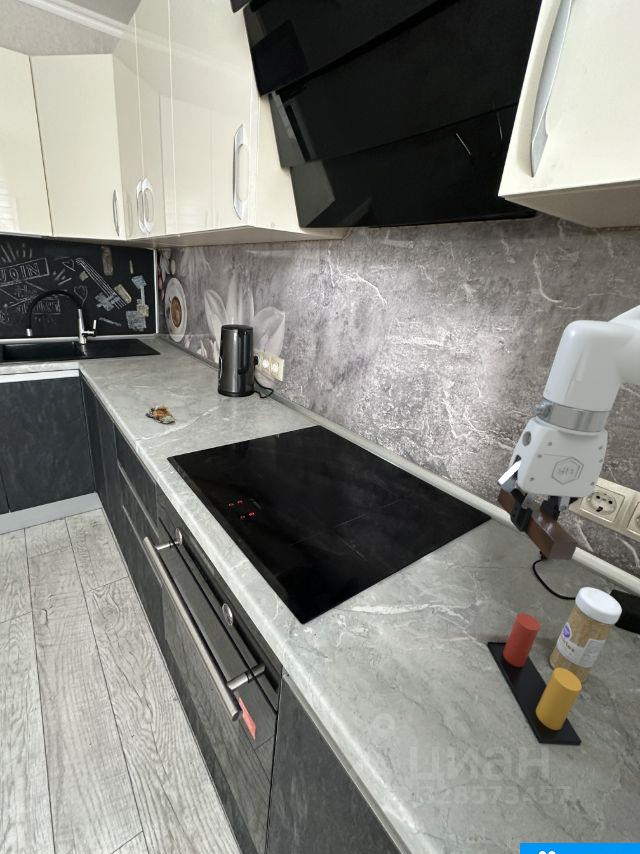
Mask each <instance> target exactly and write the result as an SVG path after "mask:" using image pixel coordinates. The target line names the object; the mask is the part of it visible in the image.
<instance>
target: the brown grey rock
mask: <svg viewBox="0 0 640 854" xmlns="http://www.w3.org/2000/svg"><path fill="white" fill-rule="evenodd" d="M168 410H169V407H168V406H165V405H161V406H159V405H156V406H154V407H152V406H149V412H145V416H146V417H147V418H149V416H151V417H154V420H155V421H156V422H157V423H161V424H169V423H171V422H176V420H175V419H174V418H173V415H172V413H171V412H170V411H168Z"/></svg>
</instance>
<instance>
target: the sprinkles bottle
mask: <svg viewBox="0 0 640 854" xmlns="http://www.w3.org/2000/svg"><path fill="white" fill-rule="evenodd" d="M574 600H575V601H574V602H575V603H574V606H573V608H572V610H571V612H570V615H569V617H568V619H567V621H566V623H565V625H564V627H563V628H562V630H561V633H560V634H559V636H558V638H557V641H556V643H555V647H554V649H553V651H552V652H551V653H550V654H549V659H548V660H549V664H550V666H551V667H552V669H553V671H554V670H555V669H556V668H564V669H566V670H568V671H570V672H572V673H573V674H574V675H575V676H576V677H577V678H578V679H579V680H580V682H581V684H583V683H584V682H585V681H586V680H587V677H588V674H589V672H590V670H591V668H592V667H593V666H594V664H595V662H596V660H597V658H598V657H599V654H600V652H601V650H602V648H603V647H604V645H605V643H606V641H607V639H608V636H609V633H610V632H611V630H612V628H613V626H614V625H615V624H617V622H618V621H619V619H620V617H621V614H622V611H623V609H622V607H621V605H620V603H619V602H618V601H617V600H616V599H615V598H614V597H613V596H612V595H610V594H609V593H607V592H606V591H603V590H601V589H599V588H595V587H590V586H589V587H588V586H586V587H582V588H580V589H579V592H577V595H576V597H575V599H574Z"/></svg>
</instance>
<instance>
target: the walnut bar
mask: <svg viewBox="0 0 640 854" xmlns="http://www.w3.org/2000/svg"><path fill="white" fill-rule="evenodd" d="M498 492H499V493H498V496H497V499H496V501H497V503H498V504H499V505H500V506H501V508H503V510H504V511H506V513H507V514H508V515H509V516H510V515H511V512H512V509H513V506H514V503H515V499H514V498H513V497H512V495H511V494H510V493H508V492H506V491H505V490H503V489H502V488H501V487H500V489H499V491H498ZM525 493H526V492H525ZM525 493H524V495H525ZM530 508H531V509H532V511H533V513H532V515H531V517H530V520H529V523H528V526H527V529H526V531H525V532H524V533H525V535H526V536H527V537H528V538H529V539H530V540H531V542H532V543H533V544H534V545H535V546H536V547H537V548H538V549H539V551H540V552H541V553H542V554H543V555H544V557H546V559H547V560H560V561H561V560H562V561H572V558H573V556H574V554H575V551H576V550H577V547H578V545H579V542H578V540H576V539H575V538H574V537H573V536H572V535H571V534H570V533H569V532H568V531H567V530H566V529H565V527H563V526H562V525H561V524H560V523H558V521H557V522H556V521H555V520H554V519H553V518H552V517H551V516H550V515H549V514H548V513H547V512H546V511H545V510H544V509H543V508H542V507H541V504H540V503H538V502H537V501H536V500H535V499H534V500H533V502H532V504H531V506H530Z"/></svg>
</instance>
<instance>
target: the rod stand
mask: <svg viewBox="0 0 640 854" xmlns="http://www.w3.org/2000/svg"><path fill="white" fill-rule="evenodd" d="M540 629H541V625H540V623H539V621H538V620H537V619H536V618H535V617H533V616H532V615H530V614H528V613H524V612H519V613H518V614H516V616H515V620H514V622H513V624H512V627H511V630H510V632H509V635H508V638H507V640H506V642H504V641H488V642H487V644H486V646H487V648H488V650H489V651H490V653H491V655H492V657H493V659H494V661H495V663H496V665H497V666H498V669H499V671H500V672H501V675H502V676H503V678H504V680H505V682H506V684H507V685H508V687H509V689H510V691H511V693H512V695H513V696H514V699H515V701H516V702H517V703H518V706H519V709H520V710H521V712H522V713H523V715H524V717H525V720H526V721H527V723H528V725H529V727H530V729H531V731H532V732H533V735H534V736H535V738H536V740H537V742H538V743H539V744H547V745H563V746H581V744H582V740H581V738H580V736H579V735H578V733H577V732H576V730H575V728H574V727H573V725H572V723H571V721H570V720H569V719H568V716H569V714H570V712H571V709H572V708H573V706H574V704H575V702H576V700H577V698H578V696H579V694H580V693H581V691H582V687H583V685H582V683H581V682H580V680H579V679H578V678H577V677H576V676H575V675H574V674H573V673H572V672H570V671H568V670H566V669H564V668H556V669H555V670H554V669H553V672H552V673H551V676H550V678H549V680H548V681H547V683H546V682H545V680H544V679H543V676H542V675H541V673H540V672H539V670H538V669H537V667H536V666H535V664H534V662H533V661H532V659H531V658H530V656H529V655H530V652H531V650H532V648H533V645H534V643H535V641H536V638H537V636H538V633H539V631H540Z"/></svg>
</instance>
